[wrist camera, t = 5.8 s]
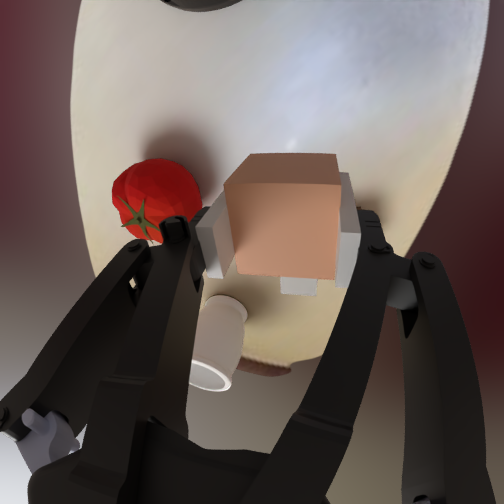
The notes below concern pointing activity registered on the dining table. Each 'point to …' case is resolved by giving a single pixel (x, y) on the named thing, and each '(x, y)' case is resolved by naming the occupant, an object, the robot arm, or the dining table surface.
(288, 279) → the grey cube
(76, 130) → the dining table surface
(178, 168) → the tomato
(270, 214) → the terracotta cube
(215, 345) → the jar
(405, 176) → the dining table surface
